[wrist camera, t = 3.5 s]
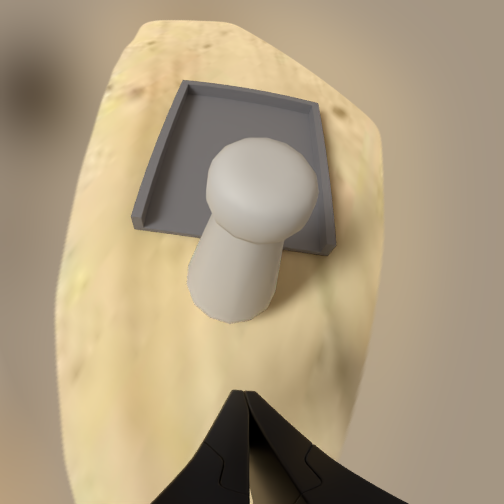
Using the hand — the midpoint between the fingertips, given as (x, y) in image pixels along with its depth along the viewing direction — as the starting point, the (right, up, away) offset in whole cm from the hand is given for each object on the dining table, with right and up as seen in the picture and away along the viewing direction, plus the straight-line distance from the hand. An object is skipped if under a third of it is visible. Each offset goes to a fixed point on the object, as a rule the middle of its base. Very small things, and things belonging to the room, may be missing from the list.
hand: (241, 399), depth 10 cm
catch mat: (-1, +14, +18) cm, 23 cm away
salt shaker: (-1, +2, +12) cm, 13 cm away
